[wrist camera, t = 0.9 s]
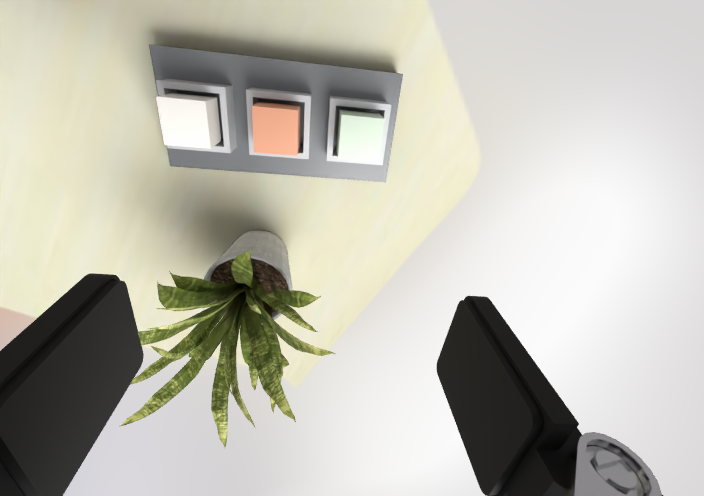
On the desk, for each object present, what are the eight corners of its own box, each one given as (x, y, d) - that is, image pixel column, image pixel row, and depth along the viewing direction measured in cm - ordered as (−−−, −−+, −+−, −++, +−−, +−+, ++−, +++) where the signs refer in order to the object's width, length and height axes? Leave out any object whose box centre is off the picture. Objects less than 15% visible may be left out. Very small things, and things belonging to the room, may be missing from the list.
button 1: (172, 93, 21) (155, 96, 19) (217, 97, 22) (205, 101, 19) (179, 137, 23) (164, 145, 20) (221, 140, 23) (210, 148, 21)
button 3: (339, 109, 23) (341, 114, 20) (378, 113, 23) (385, 119, 21) (336, 150, 24) (338, 159, 22) (373, 153, 24) (378, 162, 22)
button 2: (258, 101, 22) (251, 106, 20) (300, 105, 22) (298, 110, 20) (260, 144, 23) (253, 152, 21) (299, 147, 24) (297, 155, 21)
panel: (162, 45, 23) (133, 42, 19) (397, 73, 25) (409, 74, 21) (180, 159, 27) (159, 173, 23) (382, 174, 29) (390, 190, 25)
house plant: (154, 282, 32) (25, 452, 18) (188, 156, 27) (38, 263, 13) (288, 323, 36) (268, 488, 22) (343, 223, 31) (361, 359, 17)
